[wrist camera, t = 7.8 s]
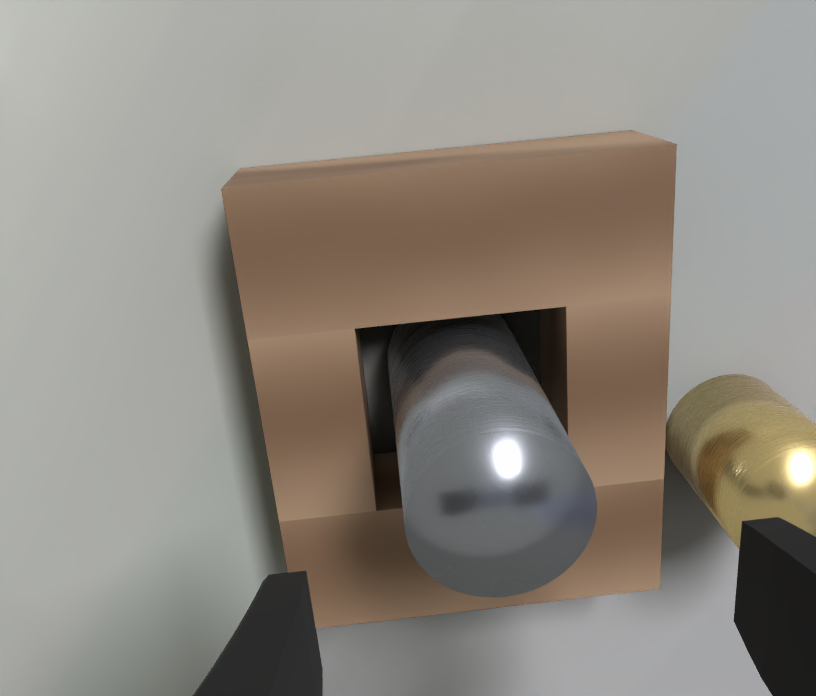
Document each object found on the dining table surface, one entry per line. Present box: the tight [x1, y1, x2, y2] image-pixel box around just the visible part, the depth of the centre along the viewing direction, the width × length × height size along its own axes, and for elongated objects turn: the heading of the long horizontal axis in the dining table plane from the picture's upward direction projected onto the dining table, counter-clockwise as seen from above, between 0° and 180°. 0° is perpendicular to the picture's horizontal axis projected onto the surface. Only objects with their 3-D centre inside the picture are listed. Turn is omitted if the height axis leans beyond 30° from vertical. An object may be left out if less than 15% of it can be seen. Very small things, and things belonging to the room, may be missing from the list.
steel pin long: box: [388, 314, 597, 598], centre depth 18 cm, size 4×4×8 cm
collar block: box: [221, 130, 677, 629], centre depth 21 cm, size 12×10×3 cm
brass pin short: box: [665, 374, 816, 549], centre depth 21 cm, size 4×4×4 cm
